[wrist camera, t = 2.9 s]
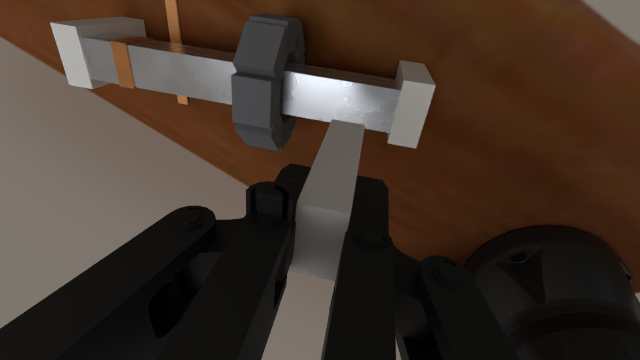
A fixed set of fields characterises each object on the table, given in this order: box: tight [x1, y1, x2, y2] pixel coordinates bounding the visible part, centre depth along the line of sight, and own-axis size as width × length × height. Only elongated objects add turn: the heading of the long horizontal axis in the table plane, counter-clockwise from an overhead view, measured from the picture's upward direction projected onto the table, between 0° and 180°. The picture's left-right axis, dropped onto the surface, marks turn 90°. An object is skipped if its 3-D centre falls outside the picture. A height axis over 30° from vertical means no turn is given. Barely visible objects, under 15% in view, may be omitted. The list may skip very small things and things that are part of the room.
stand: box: [50, 0, 436, 148], centre depth 25 cm, size 27×10×7 cm, turn 83°
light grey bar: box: [81, 33, 401, 133], centre depth 23 cm, size 25×3×3 cm, turn 83°
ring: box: [231, 13, 305, 151], centre depth 23 cm, size 2×9×9 cm, turn 173°
